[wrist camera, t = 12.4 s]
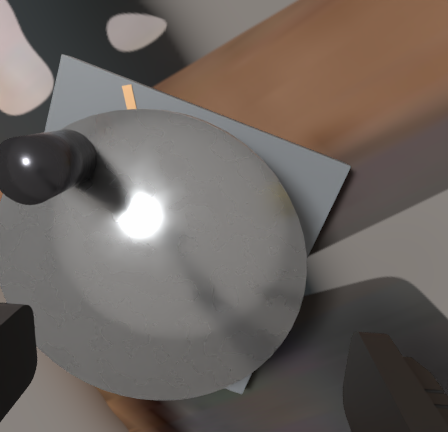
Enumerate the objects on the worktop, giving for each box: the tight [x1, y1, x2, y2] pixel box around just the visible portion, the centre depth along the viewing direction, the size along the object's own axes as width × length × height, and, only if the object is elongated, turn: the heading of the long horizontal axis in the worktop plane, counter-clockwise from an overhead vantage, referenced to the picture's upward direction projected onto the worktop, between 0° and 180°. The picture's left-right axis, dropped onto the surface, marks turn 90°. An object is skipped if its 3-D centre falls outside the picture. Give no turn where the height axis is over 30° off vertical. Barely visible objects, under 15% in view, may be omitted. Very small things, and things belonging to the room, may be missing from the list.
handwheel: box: [0, 109, 307, 400], centre depth 28 cm, size 25×25×8 cm
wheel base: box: [44, 54, 351, 394], centre depth 35 cm, size 26×26×6 cm
